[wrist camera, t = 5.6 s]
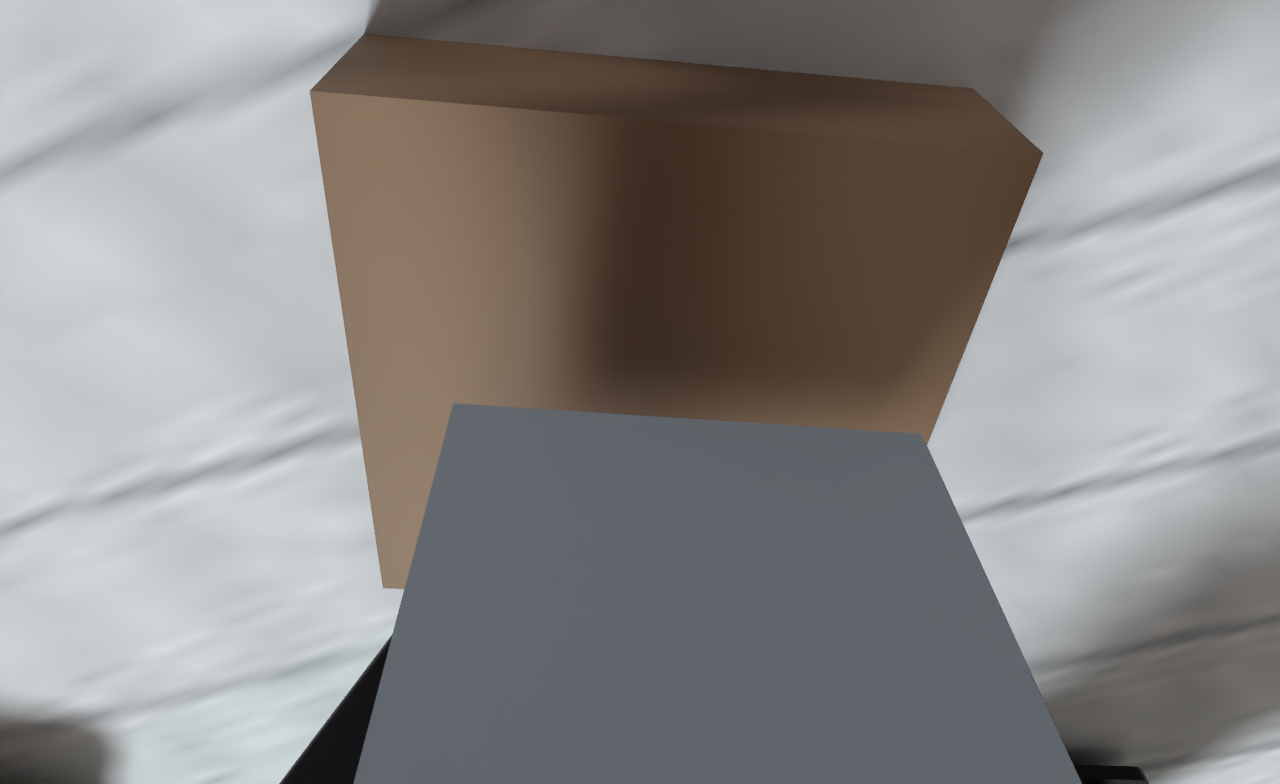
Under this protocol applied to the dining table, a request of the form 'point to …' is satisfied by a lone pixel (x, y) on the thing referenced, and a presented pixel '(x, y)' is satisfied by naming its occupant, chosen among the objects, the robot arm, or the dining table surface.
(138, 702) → the dining table surface
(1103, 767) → the robot arm
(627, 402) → the walnut block
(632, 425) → the slate cube
